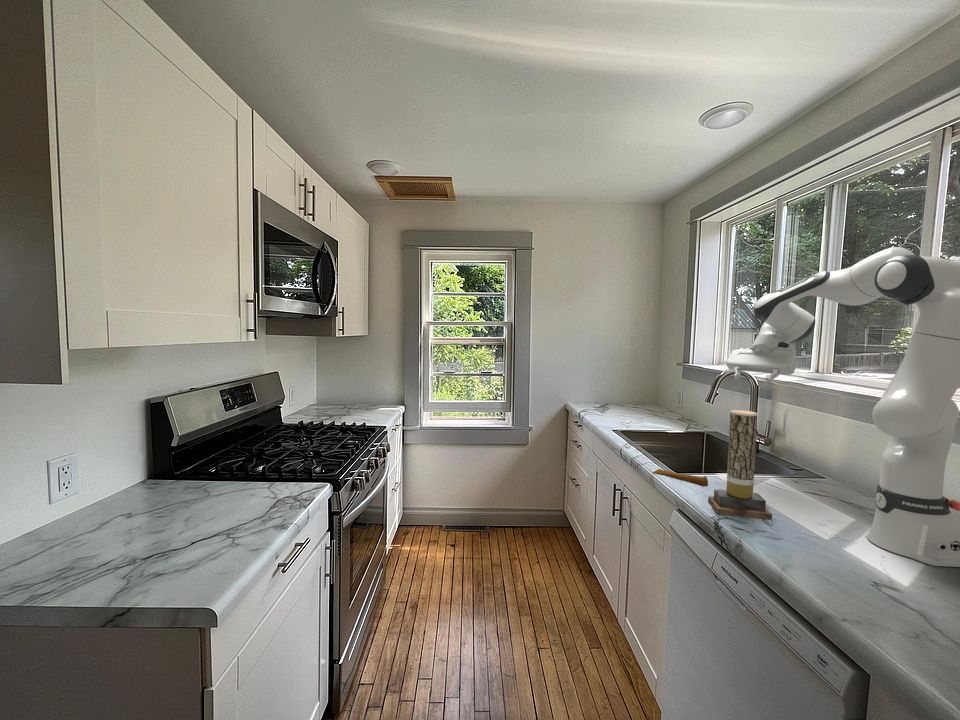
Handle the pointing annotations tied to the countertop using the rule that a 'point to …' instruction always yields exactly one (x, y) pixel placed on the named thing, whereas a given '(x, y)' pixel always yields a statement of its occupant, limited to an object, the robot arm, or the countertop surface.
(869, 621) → the countertop surface
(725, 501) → the stand
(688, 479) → the primitive tool
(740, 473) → the bark patterned cylinder
